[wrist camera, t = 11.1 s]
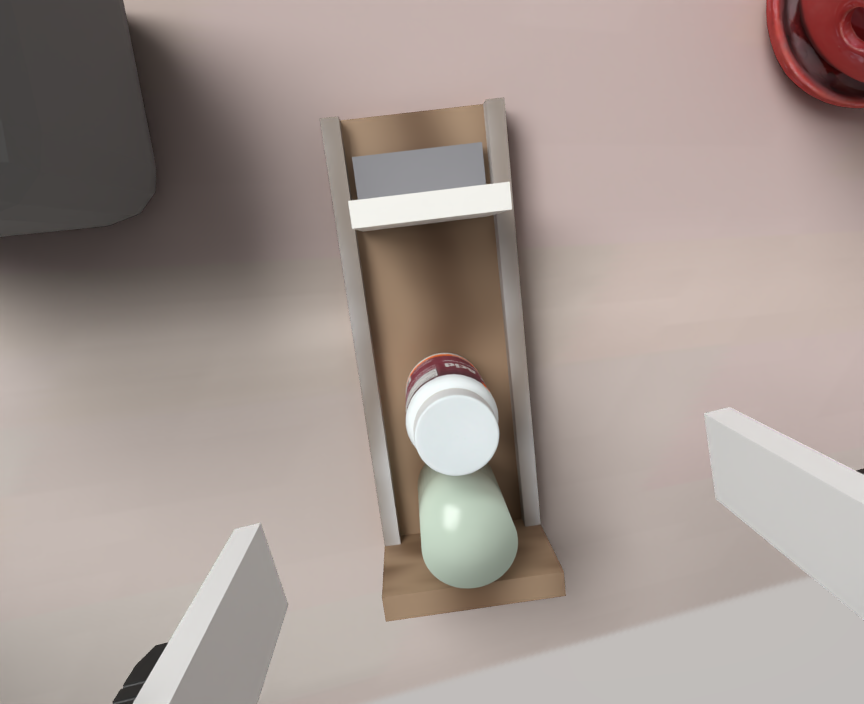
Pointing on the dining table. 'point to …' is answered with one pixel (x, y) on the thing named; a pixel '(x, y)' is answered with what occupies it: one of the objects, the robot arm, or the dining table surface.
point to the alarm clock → (70, 118)
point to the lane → (439, 348)
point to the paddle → (424, 188)
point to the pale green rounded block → (465, 527)
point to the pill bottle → (451, 415)
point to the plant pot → (821, 47)
